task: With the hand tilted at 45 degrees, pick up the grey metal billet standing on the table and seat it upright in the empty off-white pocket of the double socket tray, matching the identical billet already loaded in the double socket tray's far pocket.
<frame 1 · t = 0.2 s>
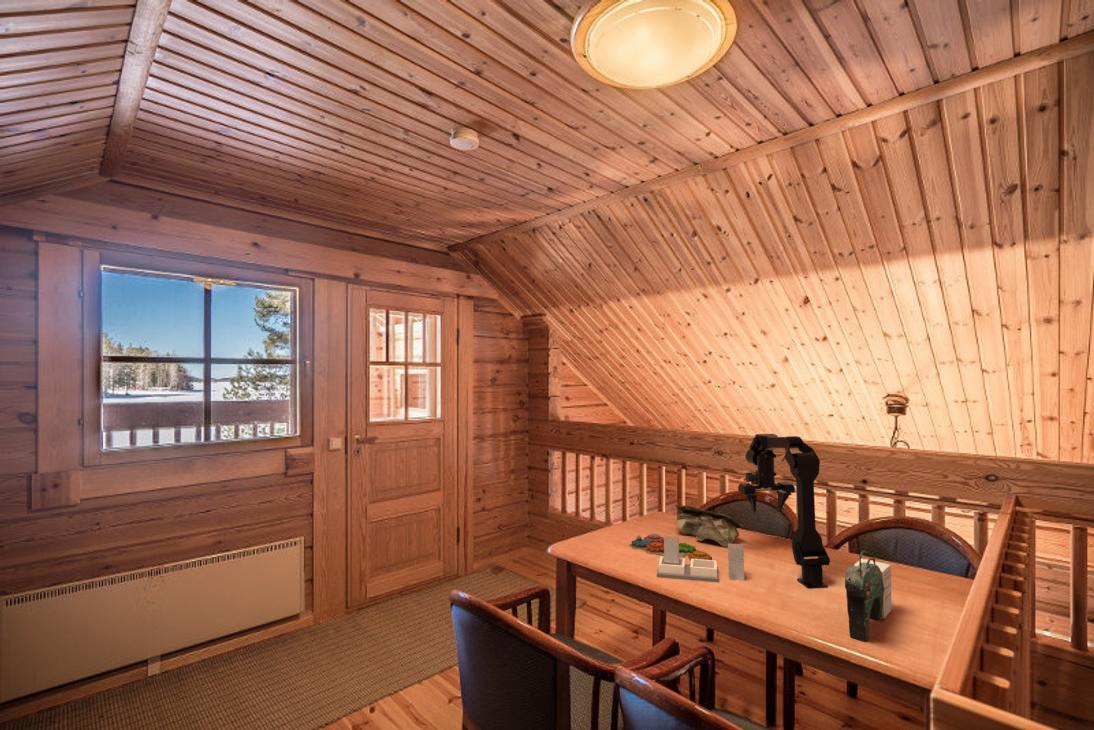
hand: (766, 512, 193), 15 cm above the table, tool pointing down, fingers open, 9 cm apart
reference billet: (672, 568, 177), point 1 cm above the table, touching double socket tray
hollow geode rock: (706, 539, 211), on the table
gear puzzle: (671, 553, 196), on the table
double socket tray: (687, 573, 175), on the table
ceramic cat: (865, 627, 136), on the table, touching supplement box
supplement box: (873, 611, 146), on the table, touching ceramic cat
billet: (736, 577, 171), on the table
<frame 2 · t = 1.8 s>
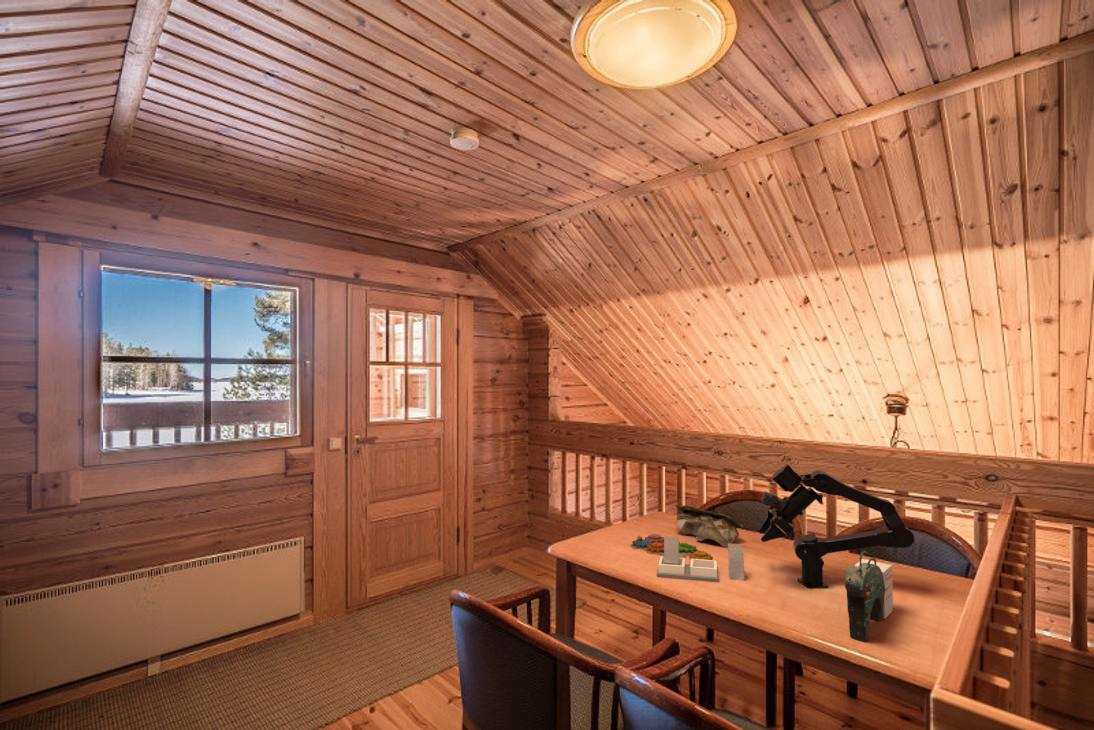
hand: (760, 536, 169), 13 cm above the table, tool tilted 45°, fingers open, 9 cm apart
nothing on the table moved.
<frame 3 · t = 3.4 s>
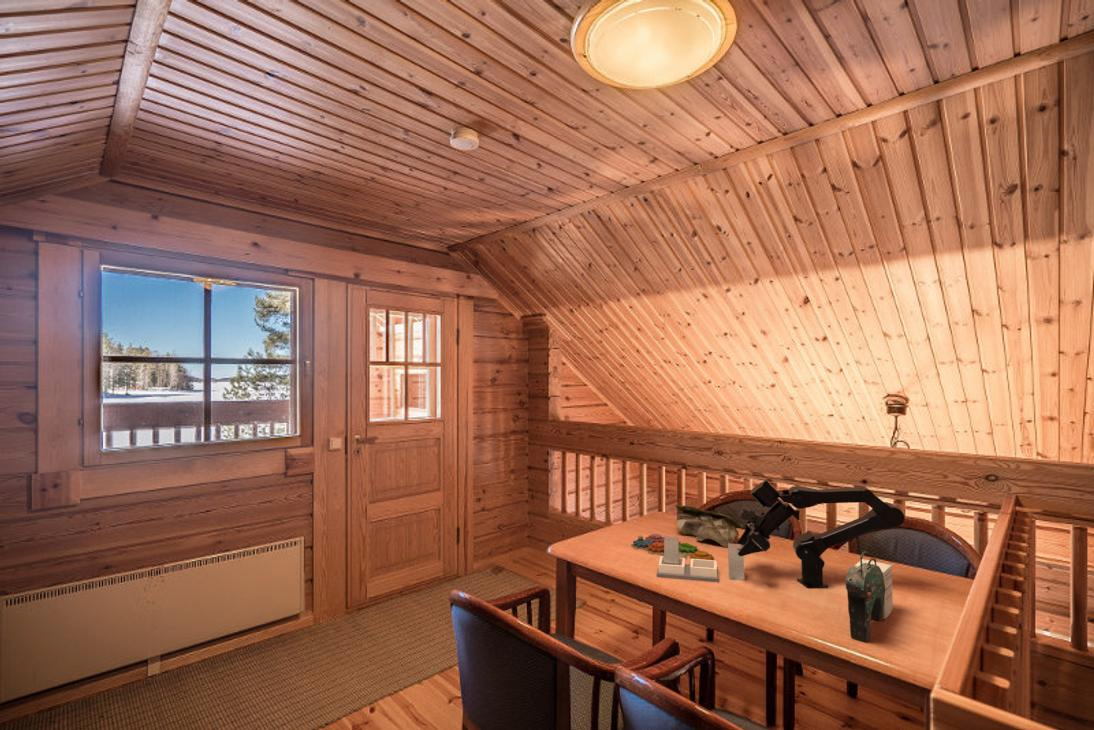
hand: (737, 550, 171), 9 cm above the table, tool tilted 45°, fingers open, 9 cm apart
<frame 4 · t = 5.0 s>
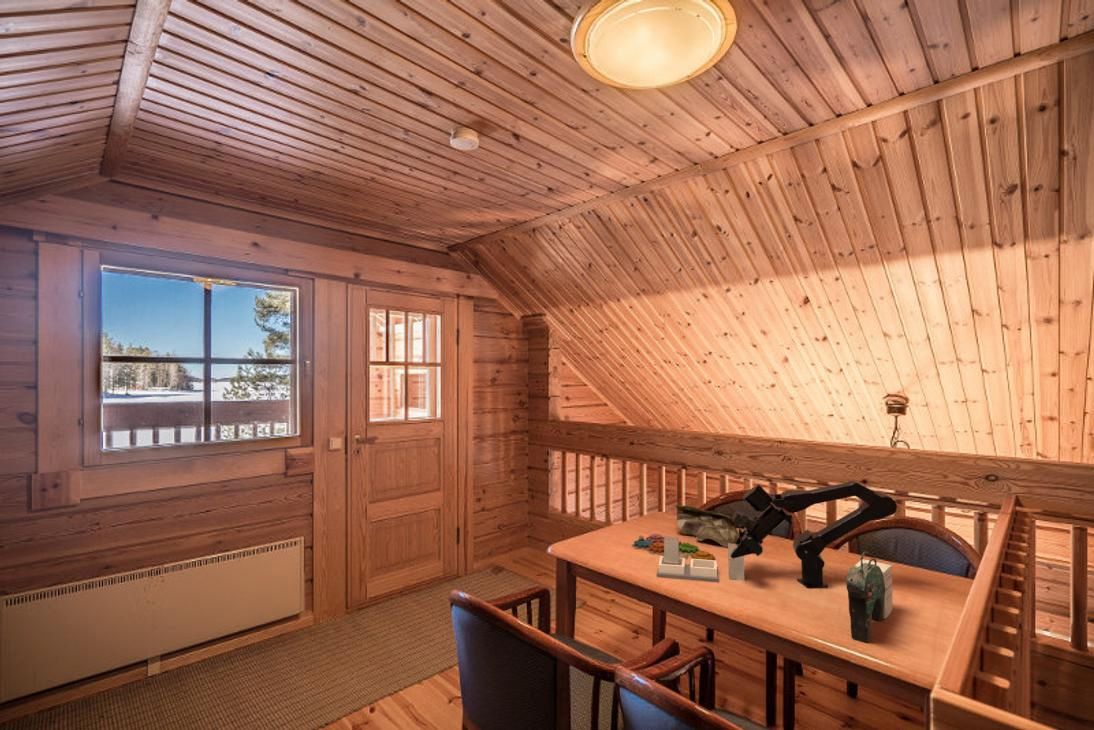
hand: (731, 554, 171), 7 cm above the table, tool tilted 45°, fingers closed on billet, 4 cm apart
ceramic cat: (866, 628, 136), on the table, touching supplement box
billet: (736, 577, 171), on the table, touching gripper
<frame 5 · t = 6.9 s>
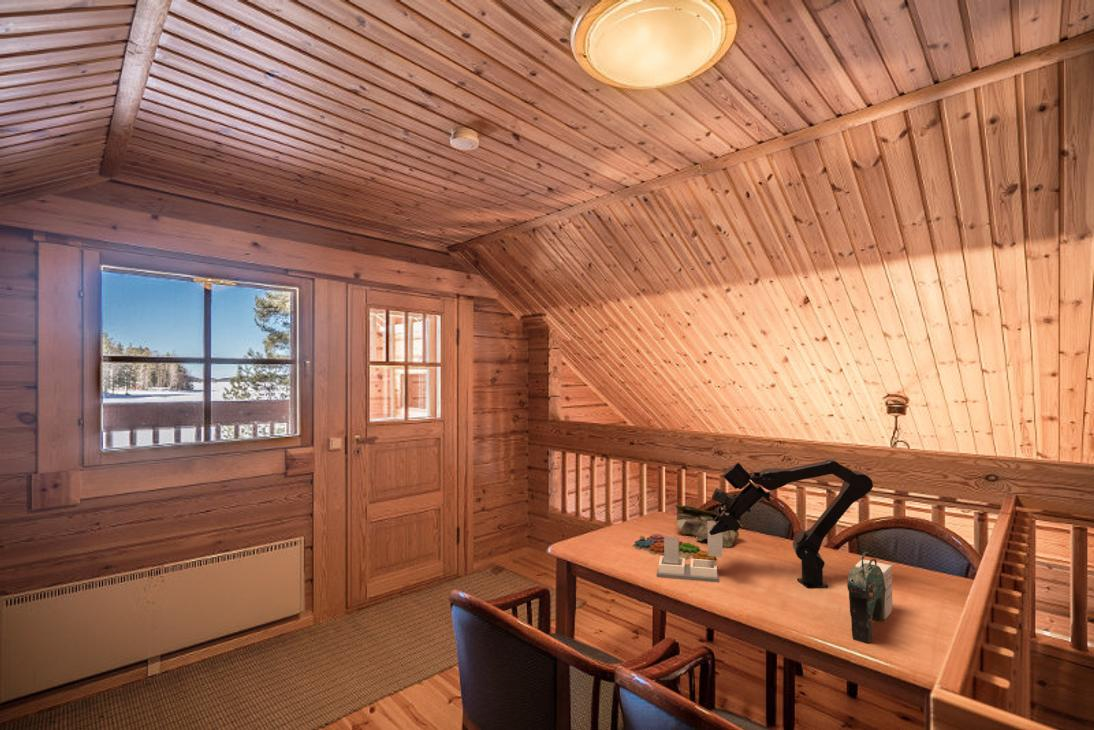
hand: (710, 531, 173), 14 cm above the table, tool tilted 45°, fingers closed on billet, 4 cm apart
billet: (715, 554, 173), point 7 cm above the table, touching gripper
when the fingers open (9 cm above the table, at t = 8.9 s): billet drops 1 cm, resting on double socket tray.
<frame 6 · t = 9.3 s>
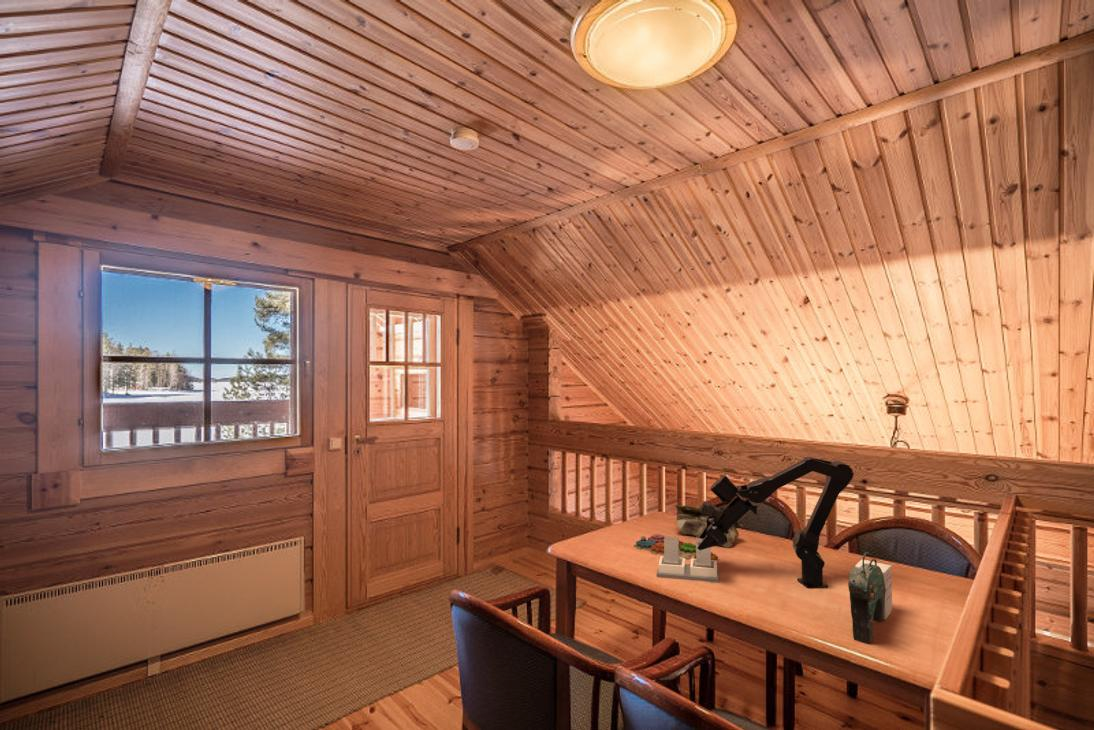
hand: (698, 544, 174), 10 cm above the table, tool tilted 45°, fingers open, 8 cm apart
billet: (703, 571, 174), point 1 cm above the table, touching double socket tray
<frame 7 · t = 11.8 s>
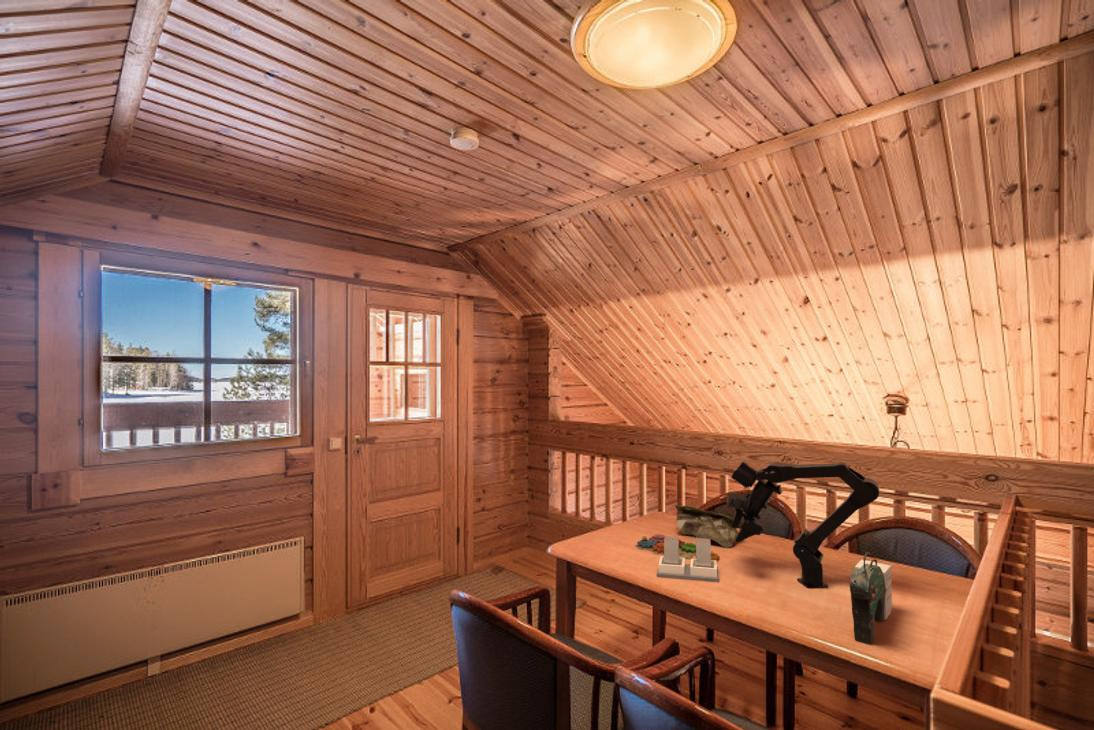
hand: (734, 534, 177), 12 cm above the table, tool tilted 30°, fingers open, 9 cm apart
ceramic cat: (868, 629, 135), on the table, touching supplement box
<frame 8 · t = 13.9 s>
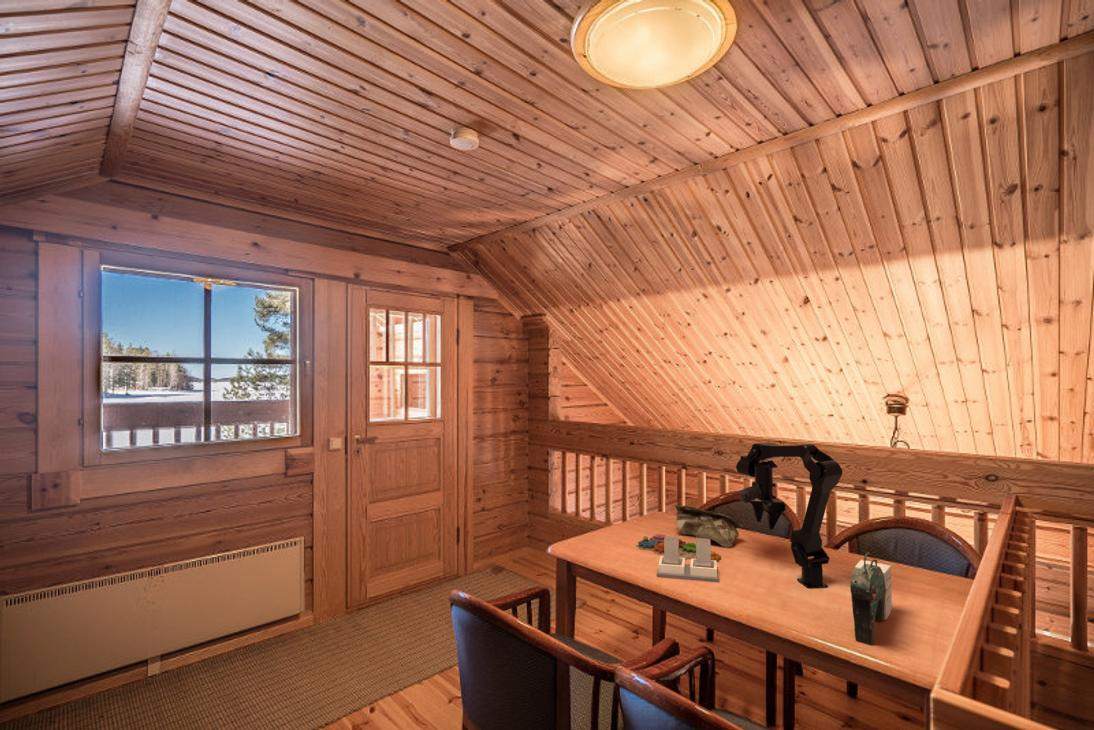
hand: (764, 525, 182), 13 cm above the table, tool pointing down, fingers open, 9 cm apart
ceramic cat: (869, 630, 135), on the table, touching supplement box
at the end: billet 0.1 cm from the target spot, point 1.0 cm above the table; billet tilted 0°; the gripper is holding nothing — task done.
